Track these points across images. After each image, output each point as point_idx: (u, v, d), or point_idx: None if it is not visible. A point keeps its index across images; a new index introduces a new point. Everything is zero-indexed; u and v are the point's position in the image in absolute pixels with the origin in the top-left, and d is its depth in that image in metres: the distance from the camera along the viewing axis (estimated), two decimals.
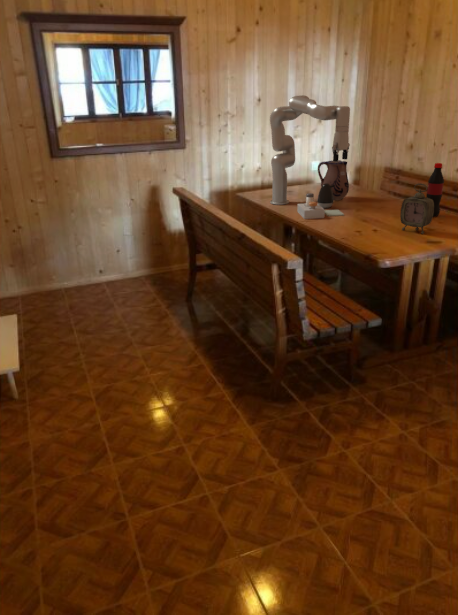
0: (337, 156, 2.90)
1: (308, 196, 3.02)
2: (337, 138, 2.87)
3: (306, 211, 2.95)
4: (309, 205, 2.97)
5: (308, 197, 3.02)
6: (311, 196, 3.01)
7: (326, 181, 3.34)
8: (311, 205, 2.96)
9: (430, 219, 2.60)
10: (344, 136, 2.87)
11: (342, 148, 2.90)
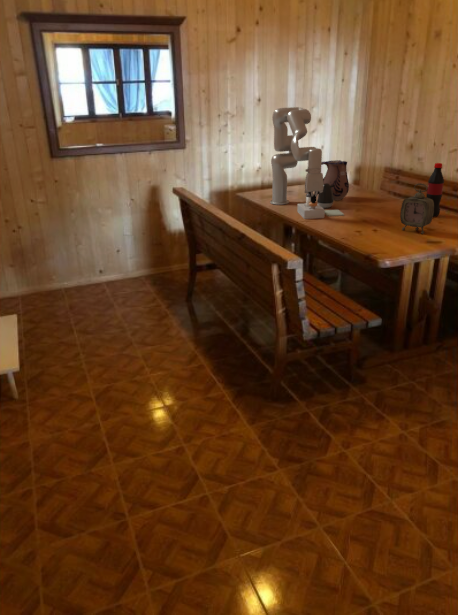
0: None
1: (308, 196, 3.02)
2: None
3: (306, 211, 2.95)
4: (309, 205, 2.97)
5: (308, 197, 3.02)
6: None
7: (326, 181, 3.34)
8: (311, 205, 2.96)
9: (430, 219, 2.60)
10: None
11: None
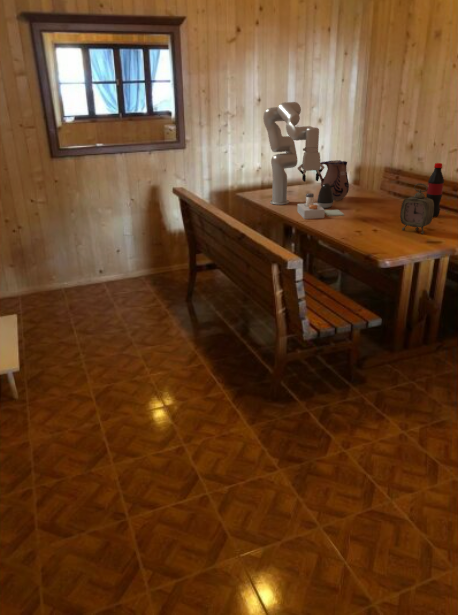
0: None
1: (308, 196, 3.02)
2: None
3: (306, 211, 2.95)
4: (309, 208, 2.97)
5: (308, 197, 3.02)
6: (311, 196, 3.01)
7: (326, 181, 3.34)
8: (311, 208, 2.96)
9: (430, 219, 2.60)
10: None
11: None
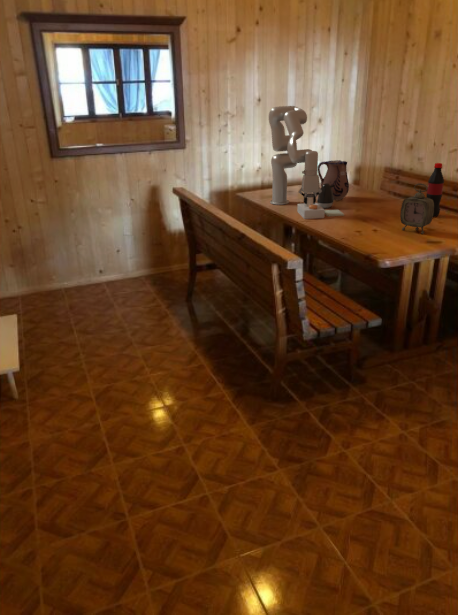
0: None
1: (308, 196, 3.02)
2: None
3: (306, 211, 2.95)
4: (309, 208, 2.97)
5: (308, 197, 3.02)
6: (311, 196, 3.01)
7: (326, 181, 3.34)
8: (311, 208, 2.96)
9: (430, 219, 2.60)
10: None
11: None
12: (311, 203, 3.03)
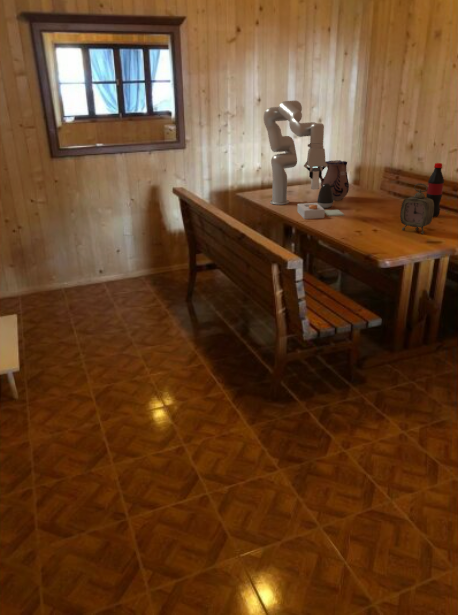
0: None
1: (314, 170, 2.95)
2: None
3: (306, 211, 2.95)
4: (309, 208, 2.97)
5: (313, 171, 2.95)
6: (317, 170, 2.95)
7: (326, 181, 3.34)
8: (311, 208, 2.96)
9: (430, 219, 2.60)
10: None
11: None
12: (317, 177, 2.97)
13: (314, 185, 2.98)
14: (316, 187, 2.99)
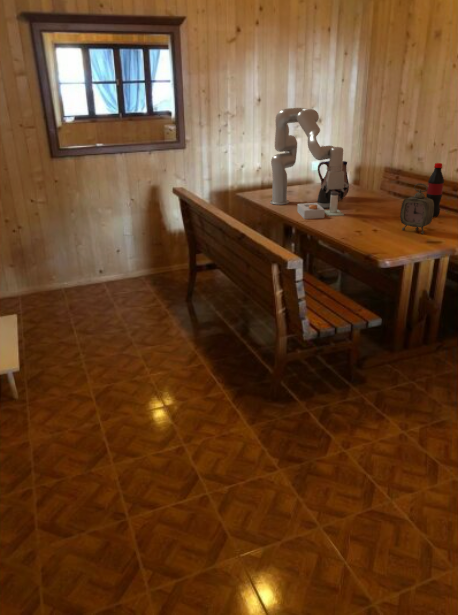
0: None
1: (333, 194, 3.00)
2: None
3: (306, 211, 2.95)
4: (309, 208, 2.97)
5: (332, 195, 3.00)
6: (336, 194, 3.00)
7: None
8: (311, 208, 2.96)
9: (430, 219, 2.60)
10: None
11: None
12: (335, 201, 3.02)
13: (333, 209, 3.03)
14: (334, 211, 3.04)
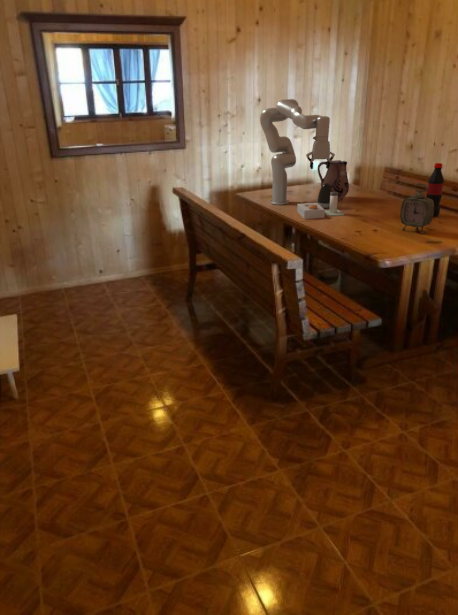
0: None
1: (332, 195, 3.00)
2: None
3: (306, 211, 2.95)
4: (309, 208, 2.97)
5: (332, 195, 3.00)
6: (335, 194, 3.00)
7: (326, 181, 3.34)
8: (311, 208, 2.96)
9: (430, 219, 2.60)
10: None
11: None
12: (335, 202, 3.01)
13: (333, 209, 3.03)
14: (334, 211, 3.04)
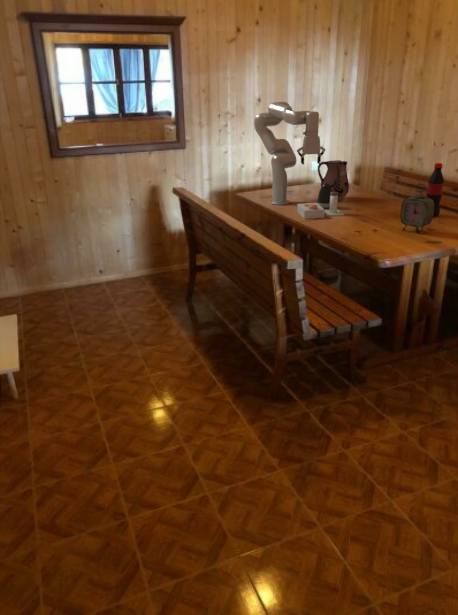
0: None
1: (332, 195, 3.00)
2: None
3: (306, 211, 2.95)
4: (309, 208, 2.97)
5: (332, 195, 3.00)
6: (335, 195, 3.00)
7: (326, 181, 3.34)
8: (311, 208, 2.96)
9: (430, 219, 2.60)
10: None
11: None
12: (335, 202, 3.01)
13: (333, 209, 3.03)
14: (334, 211, 3.04)
